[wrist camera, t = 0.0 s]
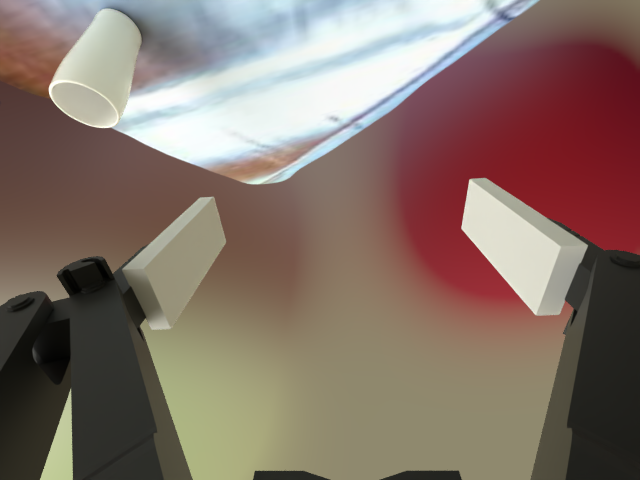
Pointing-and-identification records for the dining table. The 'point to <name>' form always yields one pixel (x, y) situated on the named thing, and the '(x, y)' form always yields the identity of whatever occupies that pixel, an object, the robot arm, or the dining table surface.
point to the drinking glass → (98, 71)
